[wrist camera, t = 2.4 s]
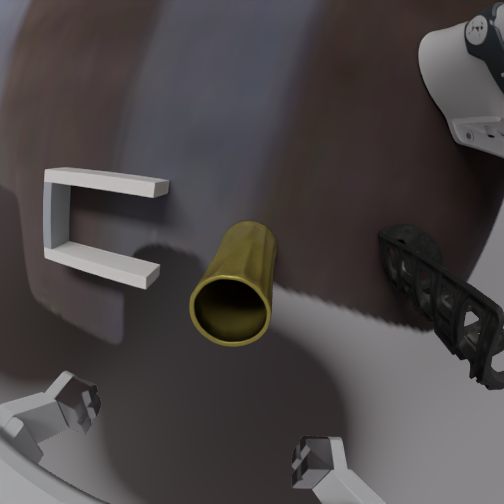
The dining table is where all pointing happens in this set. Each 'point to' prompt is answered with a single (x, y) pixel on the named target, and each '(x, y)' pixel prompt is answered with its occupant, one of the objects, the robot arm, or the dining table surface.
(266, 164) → the dining table surface
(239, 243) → the vase
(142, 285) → the bracket
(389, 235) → the holder
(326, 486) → the robot arm
